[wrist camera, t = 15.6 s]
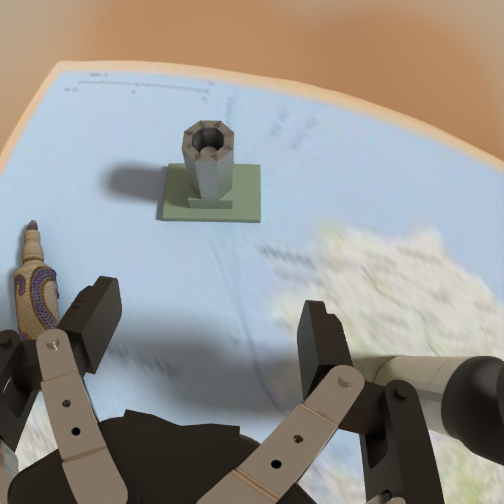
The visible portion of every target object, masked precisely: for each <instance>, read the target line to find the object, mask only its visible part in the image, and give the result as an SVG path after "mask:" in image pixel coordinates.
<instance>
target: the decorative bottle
mask: <svg viewBox="0 0 504 504" xmlns="http://www.w3.org/2000/svg"><path fill="white" fill-rule="evenodd" d="M37 227H38V226H37V223H36V221H33V220H32V221H31V222H30V223H29V224H28V226H27V231H26V232H25V236H24V237H25V240H24V243H25V246H24V248H23V253H22V261H23V266H22V267H20V268H19V269H18V270H17V271H15V273H14V289H15V290H14V292H15V302H16V310H17V311H16V312H17V321H18V331H19V335H20V339H21V340H37V339H38V337H39V336H40V335H41V334H42V333H43V332H45V331H47V330H50V329H56V327H57V325H58V324H59V322H60V320H59V311H58V303H57V299H59V293H58V291H57V288H58V286H57V283H56V272H55V271H54V270H53V269H52V268H51V267H49V266H47V265H45V264H44V254H43V250H42V246H41V243H40V232H39V231H37V230H38V228H37ZM41 391H42V390H39V392H41Z"/></svg>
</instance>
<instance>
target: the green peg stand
mask: <svg viewBox="0 0 504 504" xmlns="http://www.w3.org/2000/svg"><path fill="white" fill-rule="evenodd" d="M216 151H217V150H216V149H215V148H214V147H210V146H208V147H205V148H203V149H202V150H201V152H200V153H205V154H214V153H215V152H216ZM162 218H163V220H164V221H202V222H249V223H260V220H261V193H260V165H252V164H234V162H233V179H232V190H231V191H229V192H228V193H227V194H226V195H225V196H223V197H222V198H221V199H220V200H202V199H201V198H200V197H199V196H198V195H197V194H196V193H195V192H194V191H193V190H192V189H191V187H190V183H189V178H188V174H187V170H186V166H185V163H174V164H169V166H168V173H167V181H166V189H165V197H164V206H163V216H162Z"/></svg>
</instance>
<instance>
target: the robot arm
mask: <svg viewBox="0 0 504 504" xmlns="http://www.w3.org/2000/svg"><path fill="white" fill-rule="evenodd" d="M121 314H122V303H121V297H120V290H119V283H118V280H117V278H112V277H105V276H100V277H99V278H98V279H97V281H96V282H95V284H94V285H93V286H87V287H86V288H84V289H83V290H82V291H80V292H79V294H78V295H77V297H76V298H75V301H73V303H72V304H71V306H70V307H69V309H68V310H67V312H66V313H65V315H64V316H63V318H62V319H61V321H60V322H59V324H58V325H57V327H56V329H50V330H47V331H45V332H43V333H42V334H41V335H40V336H39V337H38V339H37V340H21V339H20V337H19V334H18V333H17V332H16V331H14V330H4V331H2V332H0V504H317V503H316V502H315V501H314V500H313V499H312V498H311V497H310V496H309V495H308V494H307V493H306V492H305V491H304V490H303V489H302V488H301V486H300V485H299V484H298V482H299V480H300V479H301V478H302V477H303V475H304V474H305V473H306V472H307V470H308V469H309V468H310V466H311V465H312V464H313V462H314V461H315V460H316V458H317V457H318V456H319V454H320V453H321V452H322V450H323V449H324V448H325V446H326V445H327V444H328V442H329V441H330V440H331V438H332V437H333V435H334V434H335V432H336V431H337V430H338V429H342V430H346V431H350V432H354V433H358V434H359V437H360V445H361V453H362V462H363V471H364V481H365V491H366V503H365V504H445V503H444V498H443V493H442V488H441V483H440V478H439V474H438V469H437V465H436V460H435V456H434V452H433V448H432V444H431V440H430V436H429V432H428V429H429V430H432V431H435V432H438V433H440V434H444V435H447V436H449V437H452V438H455V439H458V440H460V441H461V442H462V443H463V444H464V445H465V446H466V447H467V448H468V449H469V450H470V451H471V452H473V453H475V454H477V455H479V456H481V457H483V458H486V459H488V460H490V461H493V462H495V463H498V464H500V465H503V466H504V361H502V360H501V359H499V358H496V357H492V356H470V357H433V356H397V357H394V358H392V359H390V360H388V361H387V362H386V363H385V364H384V365H383V366H382V367H381V368H380V370H379V371H378V373H377V375H376V377H375V381H374V383H370V382H368V381H365V380H364V378H363V375H362V374H361V373H360V372H359V371H358V370H357V369H355V368H354V367H353V364H352V360H351V356H350V352H349V349H348V345H347V341H346V338H345V334H344V330H343V327H342V323H341V322H340V320H339V319H338V318H337V317H336V316H335V314H327V312H326V308H325V304H324V302H323V301H312V300H306V301H305V303H304V307H303V311H302V314H301V318H300V322H299V326H298V331H297V345H298V354H299V363H300V372H301V381H302V390H303V400H304V403H302V402H300V403H299V404H298V405H297V406H296V407H295V408H294V409H293V410H292V412H291V413H290V414H289V415H288V416H287V417H286V418H285V419H284V420H283V422H282V423H281V424H280V425H279V426H278V427H277V428H276V429H275V430H274V431H273V432H272V433H271V434H270V436H269V437H268V438H267V439H266V440H265V441H264V442H263V443H262V444H260V443H259V442H257V441H255V440H254V439H252V438H249V437H247V436H245V435H242V434H239V433H240V426H231V425H220V424H211V423H210V424H200V425H187V426H180V425H176V424H174V423H171V422H169V421H166V420H164V419H162V418H159V417H157V416H154V415H152V414H146V413H141V412H136V411H132V410H127V409H126V410H125V414H124V417H115V418H110V419H106V420H104V421H101V422H100V420H99V417H98V415H97V413H96V410H95V408H94V405H93V403H92V400H91V398H90V395H89V392H88V390H87V387H86V384H85V381H84V379H83V377H84V375H85V373H86V372H88V373H92V374H95V373H96V371H97V369H98V366H99V364H100V362H101V360H102V357H103V355H104V353H105V351H106V349H107V346H108V344H109V342H110V340H111V338H112V336H113V333H114V331H115V329H116V327H117V325H118V323H119V321H120V318H121ZM9 379H10V380H9ZM8 380H9V382H8ZM7 382H8V384H7ZM6 384H7V386H6ZM5 386H6V388H5ZM4 388H5V390H4ZM39 390H42V392H43V396H44V400H45V404H46V408H47V412H48V416H49V419H50V423H51V426H52V430H53V433H54V436H55V439H56V443H57V446H58V449H56V450H55V451H53V452H52V453H50V454H48V455H47V456H45V457H43V458H42V459H40V460H39V461H37V462H35V463H34V464H32V465H30V466H29V467H27V468H25V469H24V470H22V471H21V472H19V470H18V459H17V456H16V455H15V451H16V448H17V445H18V442H19V440H20V437H21V434H22V432H23V429H24V426H25V424H26V421H27V419H28V416H29V414H30V411H31V409H32V406H33V404H34V402H35V399H36V397H37V394H38V392H39ZM3 391H4V392H3Z"/></svg>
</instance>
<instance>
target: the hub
mask: <svg viewBox="0 0 504 504" xmlns="http://www.w3.org/2000/svg"><path fill="white" fill-rule="evenodd" d="M208 146H210V147H214V148H215V149H216V150H217V151H216V152H215V153H214V154H205V153H200V152H201V150H202V149H203V148H205V147H208ZM182 153H183V157H184V161H185V166H186V170H187V174H188V178H189V183H190V187H191V189H192V190H193V191H194V192H195V193H196V194H197V195H198V196H199V197H200V198H201V199H202V200H220V199H221V198H222V197H223V196H225V195H226V194H227V193H228V192H229V191H231V190H232V179H233V154H234V132H233V131H232V130H230V129H229V128H228V127H227V126H226V125H224V124H223V123H222V122H221V121H201V120H200V121H199V122H197V123H196V124H194V125H193V126H192V127H190V128H189V129H187V130H186V131H184V137H183V143H182Z"/></svg>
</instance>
